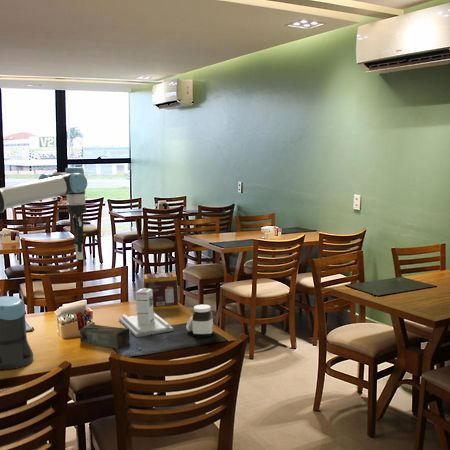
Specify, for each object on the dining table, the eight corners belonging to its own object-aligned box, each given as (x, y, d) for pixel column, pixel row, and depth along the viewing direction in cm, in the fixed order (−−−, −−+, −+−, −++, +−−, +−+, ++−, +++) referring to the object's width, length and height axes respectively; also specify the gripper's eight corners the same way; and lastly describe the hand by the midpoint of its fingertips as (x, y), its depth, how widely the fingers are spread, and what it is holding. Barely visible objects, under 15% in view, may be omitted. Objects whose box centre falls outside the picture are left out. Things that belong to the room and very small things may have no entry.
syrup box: (150, 325, 240) (148, 291, 238) (137, 324, 241) (135, 291, 239) (154, 320, 245) (153, 288, 244) (141, 320, 247) (139, 288, 245)
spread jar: (209, 339, 224) (208, 310, 223) (182, 337, 227) (180, 309, 225) (216, 329, 236) (215, 302, 235) (189, 328, 238) (188, 301, 237)
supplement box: (144, 305, 277) (143, 274, 275) (176, 302, 280) (174, 271, 278) (145, 310, 267) (144, 278, 265) (178, 308, 270) (177, 276, 268)
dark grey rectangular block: (93, 337, 231) (92, 321, 231) (131, 343, 223) (130, 327, 222) (79, 343, 224) (78, 327, 224) (118, 350, 216) (117, 333, 215)
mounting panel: (173, 330, 236) (173, 324, 236) (136, 337, 229) (135, 330, 229) (153, 315, 259) (153, 309, 259) (119, 320, 253) (119, 314, 252)
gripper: (88, 204, 233) (91, 260, 236) (82, 202, 245) (85, 256, 248) (70, 205, 230) (73, 262, 233) (65, 203, 242) (68, 257, 245)
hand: (79, 259), depth 241 cm, fingers closed
